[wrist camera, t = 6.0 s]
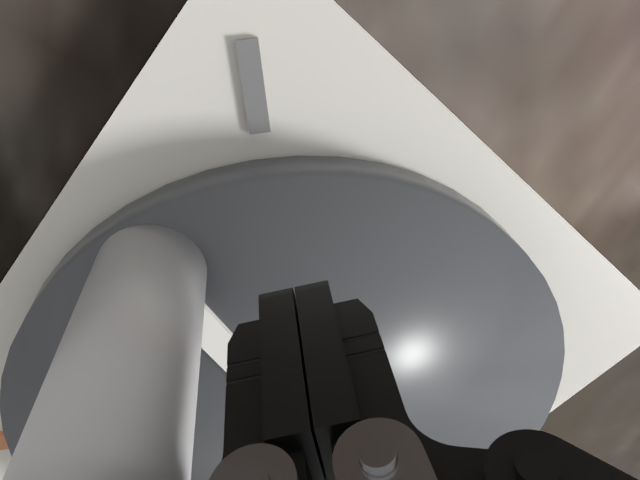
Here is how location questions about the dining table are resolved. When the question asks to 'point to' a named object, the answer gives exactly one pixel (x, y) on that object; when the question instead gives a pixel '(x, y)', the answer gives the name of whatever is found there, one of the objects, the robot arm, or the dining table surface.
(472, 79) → the dining table surface
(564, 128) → the dining table surface
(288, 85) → the dial base
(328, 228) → the dial
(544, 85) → the dining table surface
